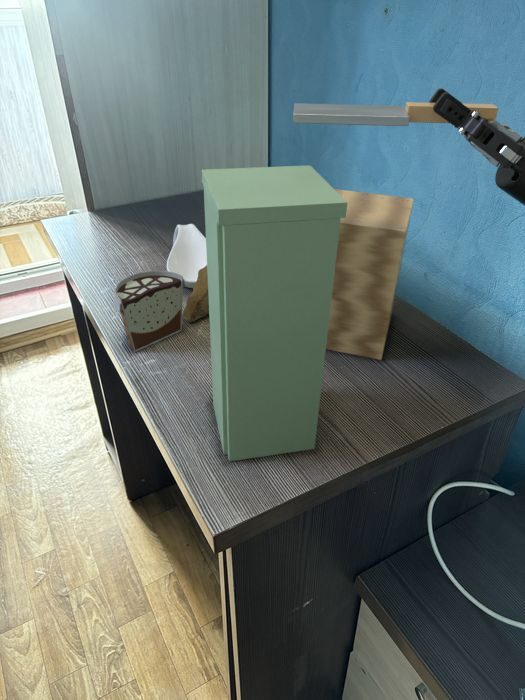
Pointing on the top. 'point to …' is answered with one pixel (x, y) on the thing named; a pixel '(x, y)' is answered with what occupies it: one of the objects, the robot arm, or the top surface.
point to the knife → (378, 114)
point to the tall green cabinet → (269, 303)
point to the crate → (367, 271)
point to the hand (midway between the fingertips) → (436, 98)
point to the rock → (198, 298)
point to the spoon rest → (187, 253)
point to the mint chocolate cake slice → (150, 306)
